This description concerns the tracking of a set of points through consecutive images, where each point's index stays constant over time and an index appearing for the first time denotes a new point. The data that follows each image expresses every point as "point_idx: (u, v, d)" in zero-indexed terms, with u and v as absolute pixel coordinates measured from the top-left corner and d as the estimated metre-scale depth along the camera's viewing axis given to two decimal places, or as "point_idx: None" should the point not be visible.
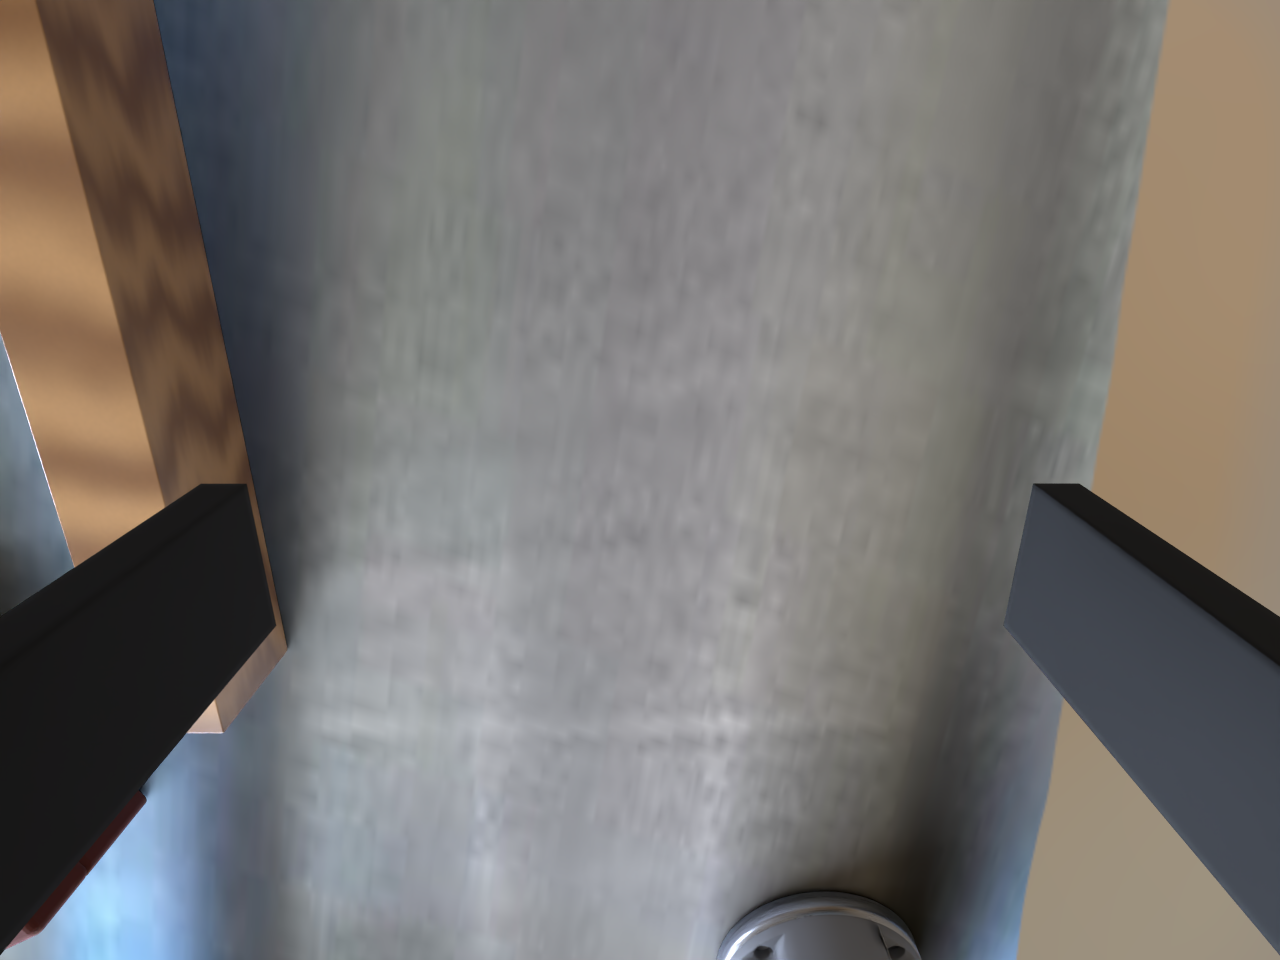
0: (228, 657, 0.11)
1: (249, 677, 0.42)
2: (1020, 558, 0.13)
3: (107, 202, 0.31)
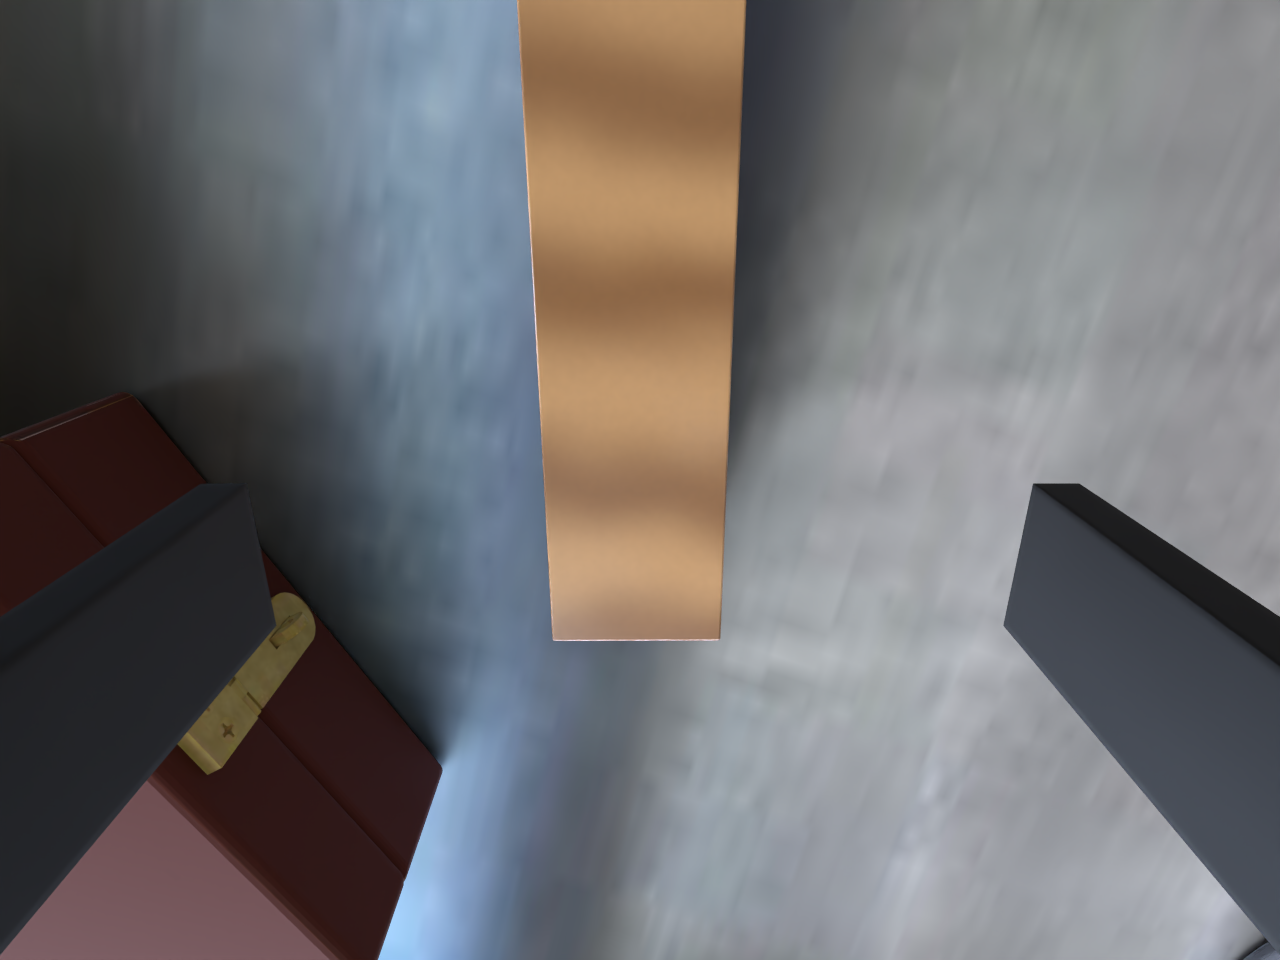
0: (228, 658, 0.11)
1: None
2: (1019, 558, 0.13)
3: None
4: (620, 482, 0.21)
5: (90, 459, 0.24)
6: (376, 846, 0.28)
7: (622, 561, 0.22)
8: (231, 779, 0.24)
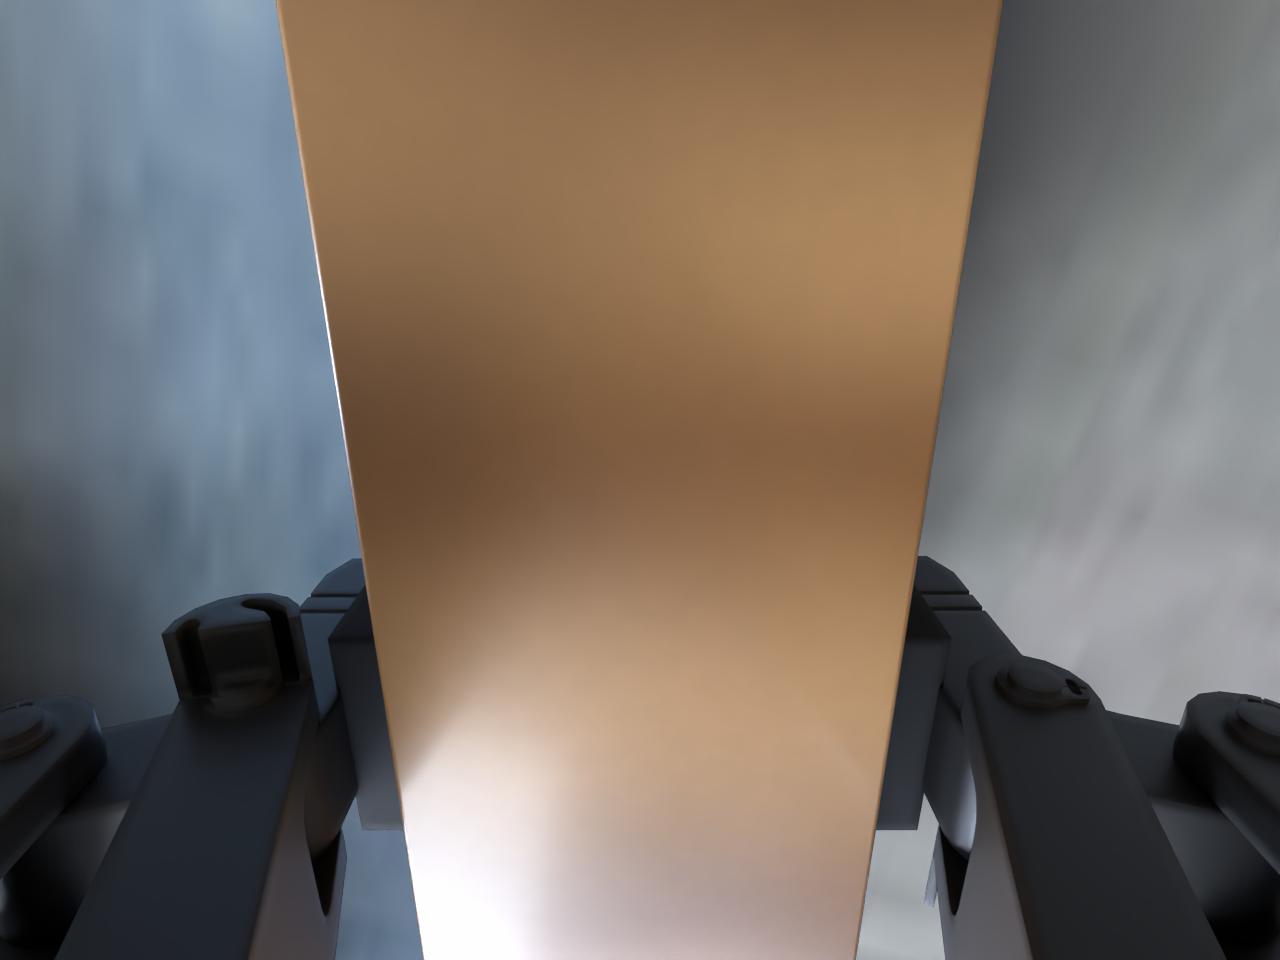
0: None
1: None
2: None
3: None
4: (602, 895, 0.08)
5: None
6: None
7: None
8: None
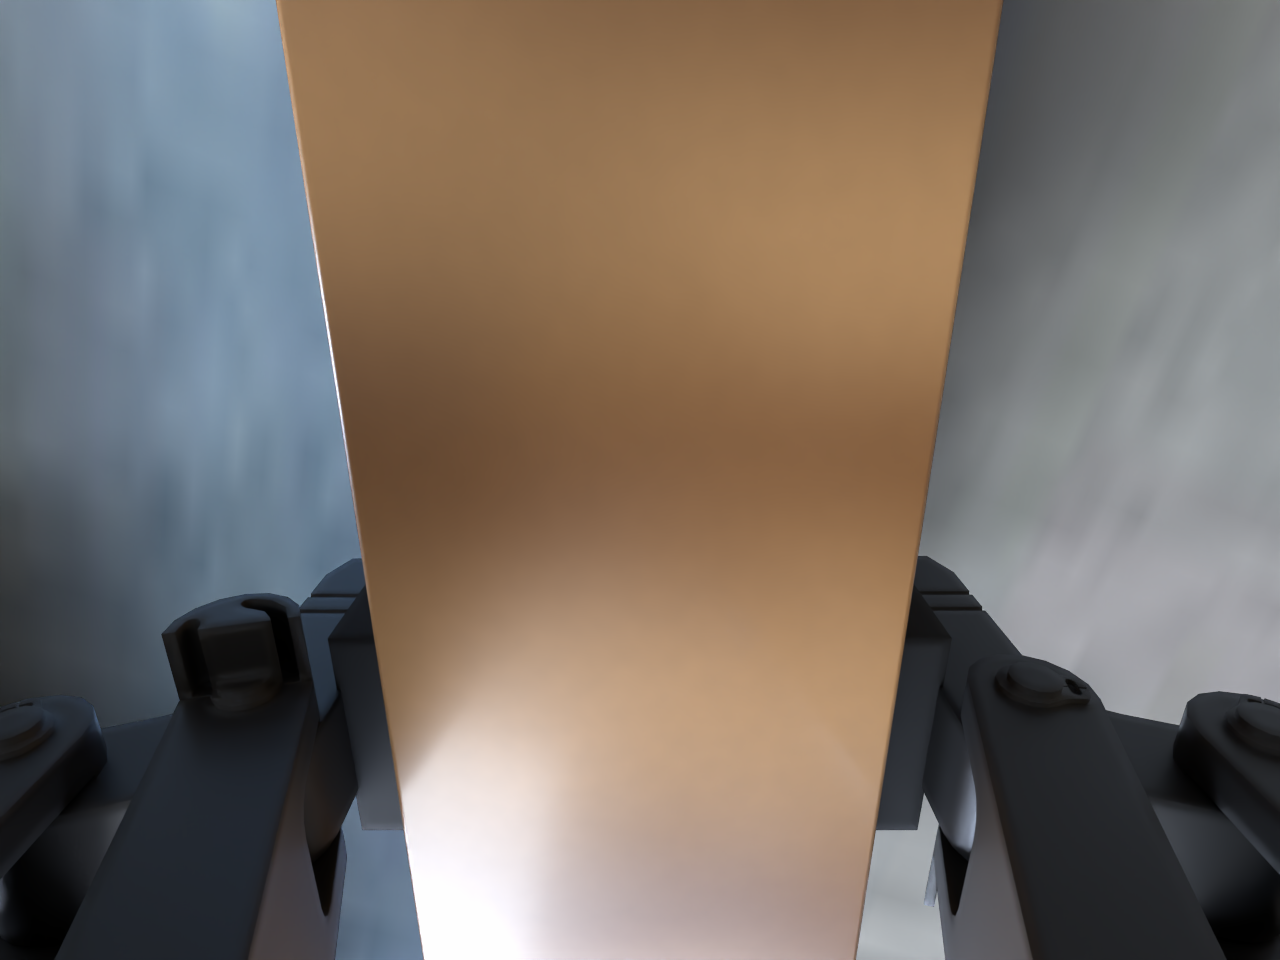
0: None
1: None
2: None
3: None
4: (602, 895, 0.08)
5: None
6: None
7: None
8: None
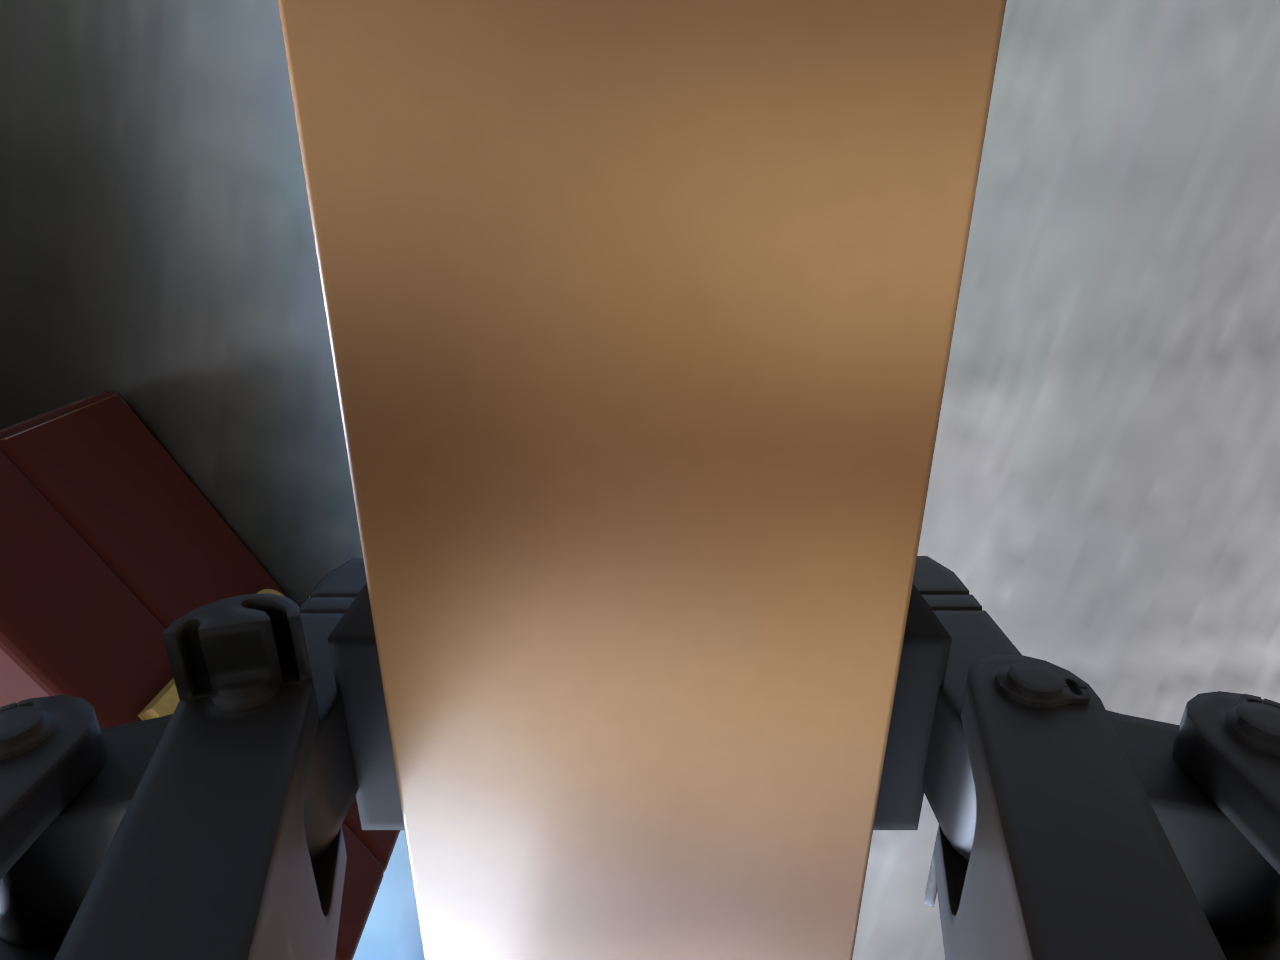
0: None
1: None
2: None
3: None
4: (602, 892, 0.08)
5: (74, 458, 0.25)
6: (356, 838, 0.29)
7: None
8: None
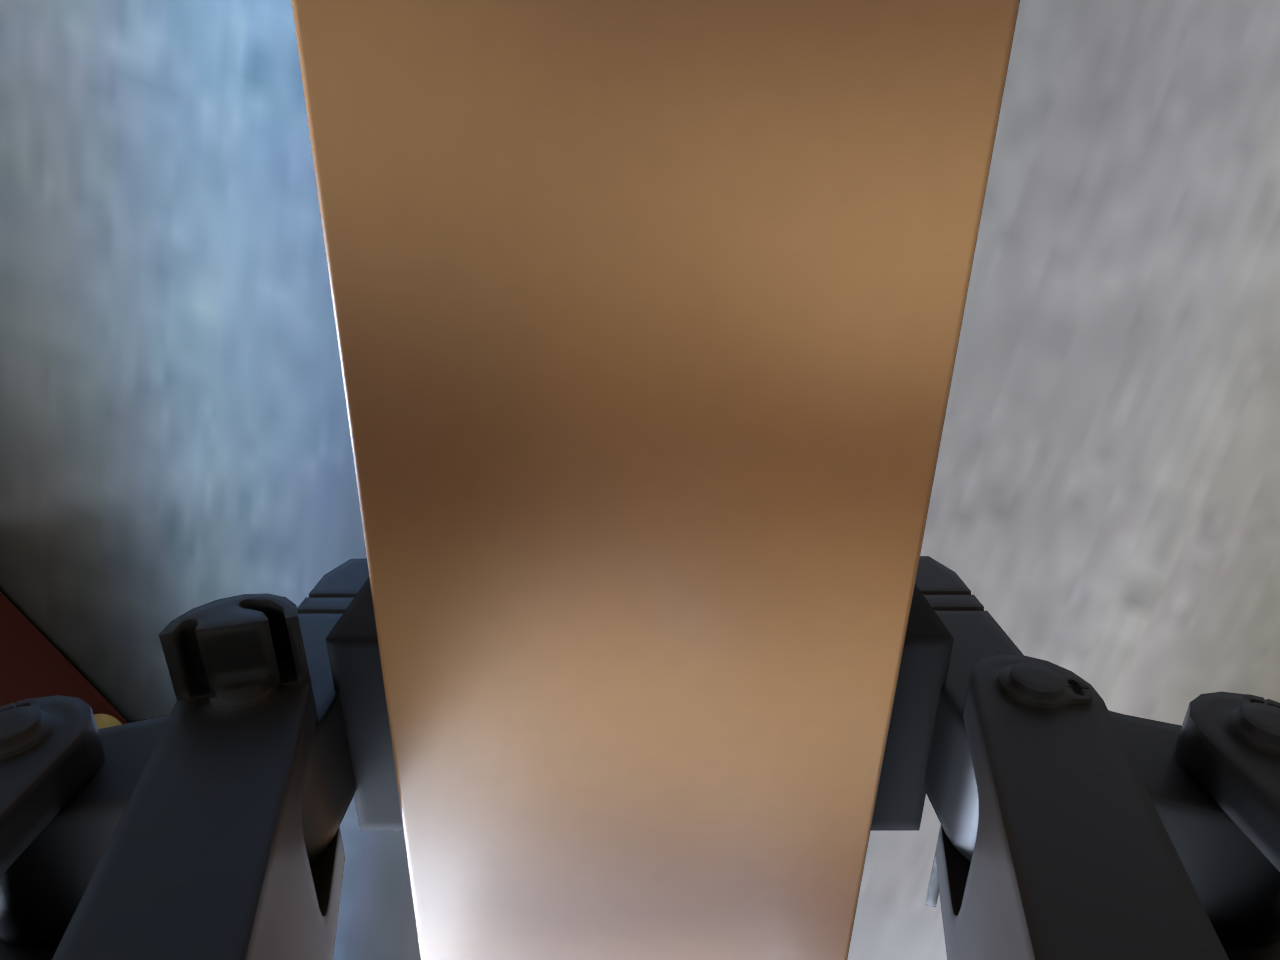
0: None
1: None
2: None
3: None
4: (598, 891, 0.08)
5: None
6: None
7: None
8: None
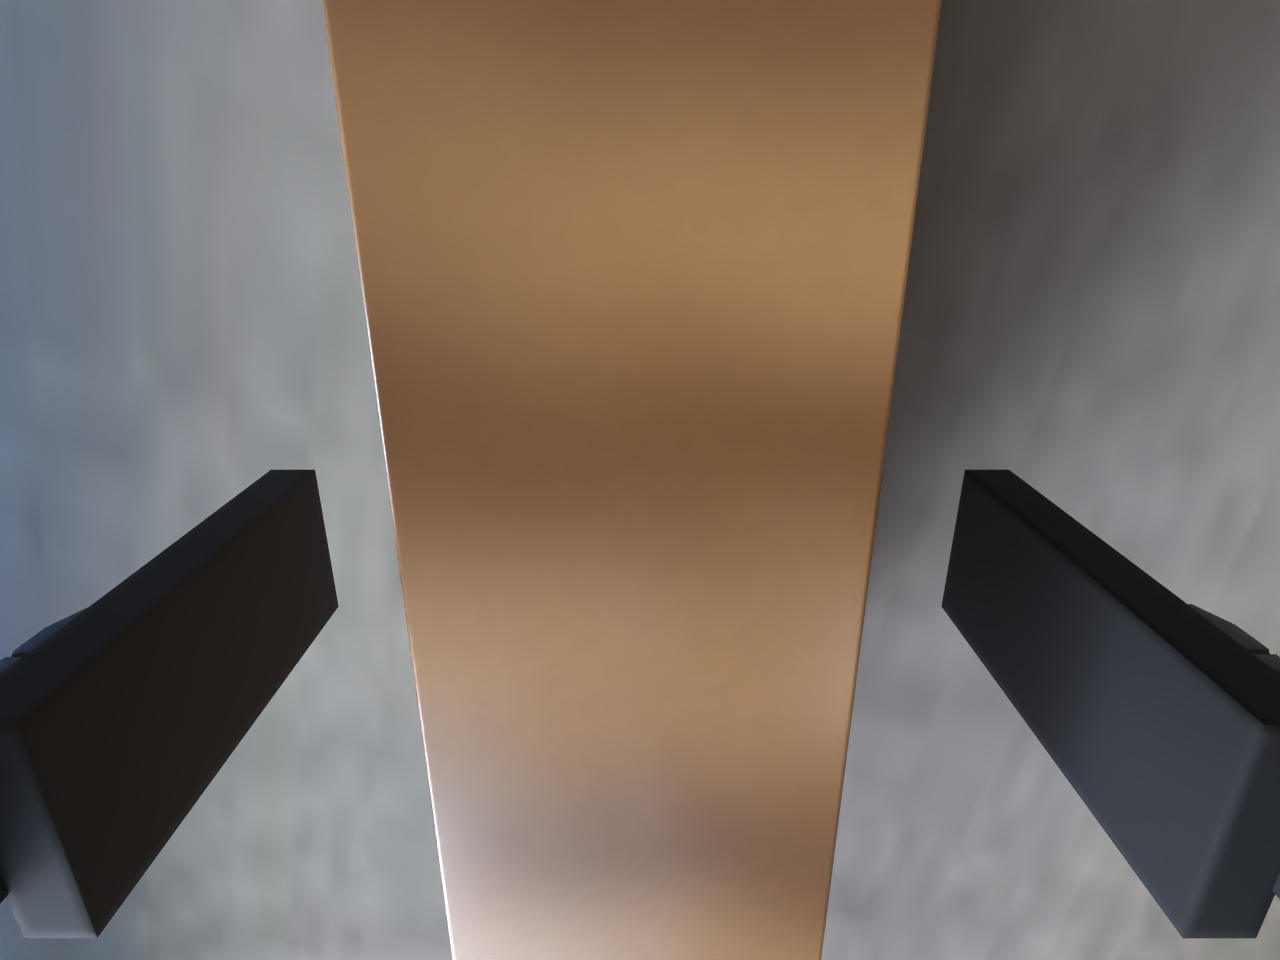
0: (300, 634, 0.12)
1: None
2: (955, 542, 0.13)
3: None
4: (603, 832, 0.09)
5: None
6: None
7: None
8: None
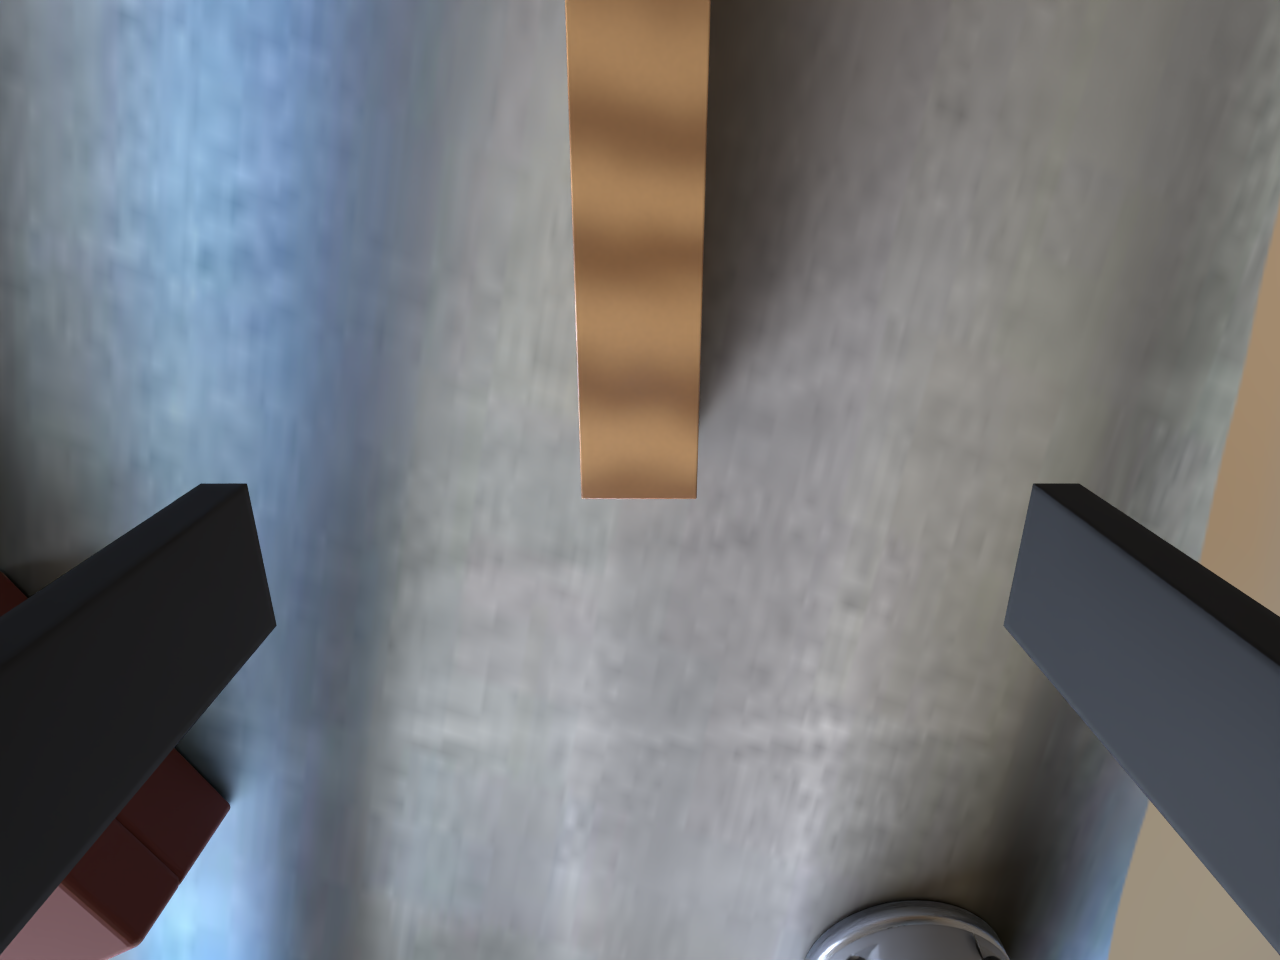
0: (227, 657, 0.11)
1: None
2: (1020, 558, 0.13)
3: None
4: (628, 384, 0.31)
5: None
6: (158, 860, 0.43)
7: (630, 441, 0.32)
8: None
